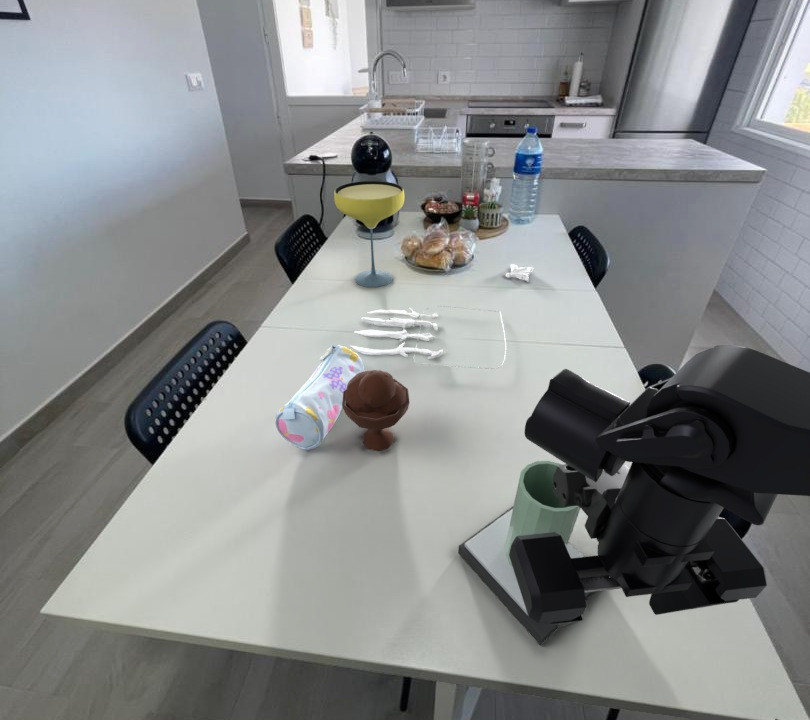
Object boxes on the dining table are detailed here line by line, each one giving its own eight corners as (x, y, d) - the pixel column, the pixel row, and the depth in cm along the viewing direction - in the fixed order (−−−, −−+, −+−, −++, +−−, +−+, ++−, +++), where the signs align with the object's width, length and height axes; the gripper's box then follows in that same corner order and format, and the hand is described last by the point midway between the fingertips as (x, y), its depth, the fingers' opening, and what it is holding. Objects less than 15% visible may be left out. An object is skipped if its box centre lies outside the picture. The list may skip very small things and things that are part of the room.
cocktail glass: (342, 267, 135) (334, 181, 121) (401, 264, 137) (401, 179, 122) (341, 295, 121) (332, 201, 106) (408, 291, 122) (408, 198, 108)
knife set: (366, 303, 116) (366, 299, 116) (502, 311, 112) (503, 307, 112) (342, 360, 96) (341, 356, 95) (507, 372, 92) (508, 368, 91)
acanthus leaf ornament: (510, 268, 135) (511, 262, 134) (533, 271, 133) (534, 265, 131) (504, 277, 129) (505, 271, 128) (528, 281, 127) (529, 275, 126)
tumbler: (569, 551, 57) (595, 483, 49) (543, 591, 53) (566, 523, 45) (522, 519, 61) (539, 451, 53) (494, 554, 57) (507, 486, 49)
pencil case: (328, 376, 92) (323, 337, 86) (368, 383, 90) (365, 344, 84) (277, 449, 75) (266, 407, 70) (324, 460, 73) (317, 417, 68)
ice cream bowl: (421, 430, 79) (422, 362, 70) (385, 473, 71) (382, 401, 62) (371, 409, 83) (367, 342, 74) (333, 447, 76) (323, 377, 67)
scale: (603, 583, 56) (608, 573, 55) (540, 645, 51) (544, 636, 49) (519, 507, 66) (521, 497, 64) (457, 553, 60) (459, 542, 58)
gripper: (709, 421, 39) (653, 527, 48) (502, 439, 38) (484, 545, 47) (818, 535, 30) (724, 638, 39) (551, 564, 29) (517, 665, 38)
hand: (605, 614), depth 41 cm, fingers open, 9 cm apart
